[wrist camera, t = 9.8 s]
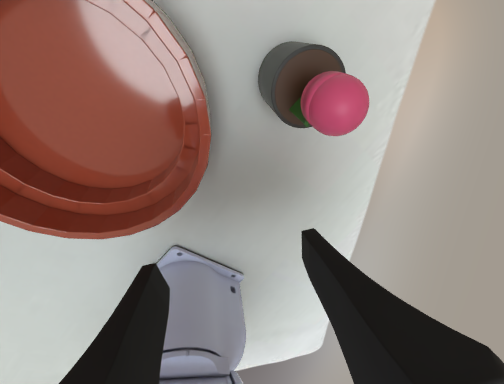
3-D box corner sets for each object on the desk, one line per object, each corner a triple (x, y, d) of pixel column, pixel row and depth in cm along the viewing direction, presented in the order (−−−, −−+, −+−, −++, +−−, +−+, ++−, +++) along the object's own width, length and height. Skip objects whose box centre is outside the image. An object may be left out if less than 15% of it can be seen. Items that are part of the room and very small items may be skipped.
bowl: (252, 93, 17) (265, 111, 13) (143, 226, 22) (131, 266, 18) (-24, -165, 9) (-169, -288, 6) (-91, 124, 15) (-190, 156, 11)
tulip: (330, 75, 17) (421, 107, 10) (287, 122, 18) (338, 180, 11) (290, 24, 15) (369, 18, 8) (245, 82, 16) (276, 122, 9)
